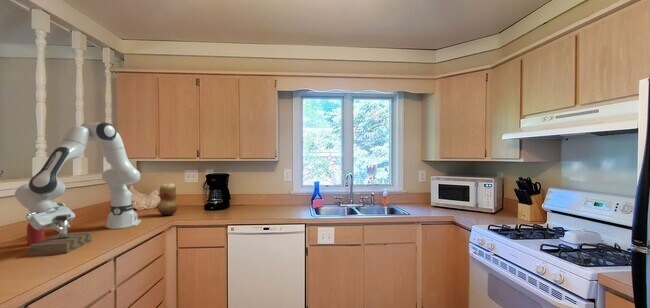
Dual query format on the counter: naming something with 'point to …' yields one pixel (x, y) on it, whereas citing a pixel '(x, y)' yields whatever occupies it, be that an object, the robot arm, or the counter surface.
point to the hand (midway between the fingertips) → (64, 229)
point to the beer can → (34, 235)
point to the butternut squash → (168, 199)
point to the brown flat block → (60, 244)
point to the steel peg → (63, 225)
